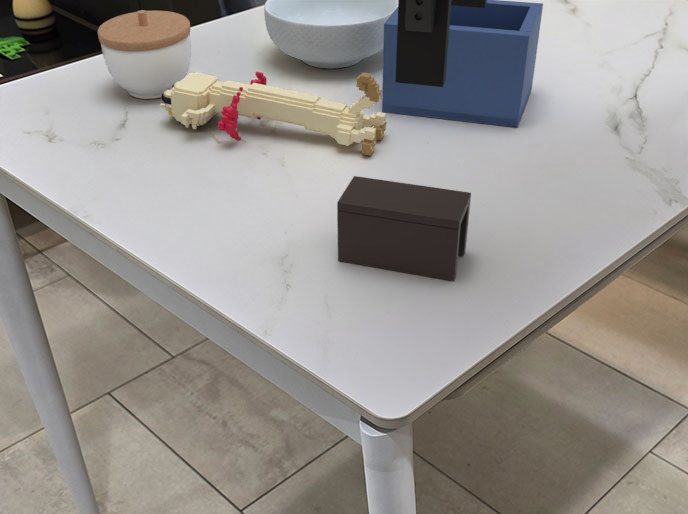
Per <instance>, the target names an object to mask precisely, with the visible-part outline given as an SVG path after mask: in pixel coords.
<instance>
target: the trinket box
mask: <svg viewBox="0 0 688 514" xmlns="http://www.w3.org/2000/svg"><path fill="white" fill-rule="evenodd" d="M97 36H98V41H99V43H100V47H101V51H102V52H101V53H102V57H103V59H104V63H105V66H106V68H107V70H108V73H109V74H110V76H111V77H112V79H113V81H114V82H115V83H116V84H117V85H118V86H120V87H121V88H122V89H124V90H125V91H127V93H128V95H129V96H131V97H134V98H136V99H142V100H151V99H160V98H162V96H161V95H162V94H163V93H164V92H165V91H167V90H171V89H172V86H173V85H174V84H175V83H176V82H177V81H179V82H180V81H181V80H182V79H183V78H185V77H186V76H187V75H188V72H189V69H190V66H191V59H192V38H191V22H190V20H189V18H187V16H186V15H183V14H180V13H178V12H174V11H168V10H145V9H141V10H137V11H134V12H128V13H124V14H120V15H117V16H114V17H112V18H110V19H108V20H106V21H104V22H103V23H102V24H100V25H99V27H98V29H97Z"/></svg>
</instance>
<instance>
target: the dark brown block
mask: <svg viewBox="0 0 688 514" xmlns="http://www.w3.org/2000/svg"><path fill="white" fill-rule="evenodd" d="M471 197H472V193H471V192H470V191H469V192H468V191H462V190H460V191H459V190H455V189H447V188H441V187H434V186H428V185H427V186H426V185H420V184H413V183H405V182H398V181H392V180H385V179H380V178H379V179H377V178H372V177H363V176H357V175H354V176H353V177H352V178H351V180H350V182H349V183H348V185H347V186H346V188H345V190H344V191H343V193H342V194H341V196H340V197H339V199H338V200H337V202H336V206H337V207H336V208H337V209H336V210H337V212H336V213H337V215H336V216H337V217H336V218H337V219H336V222H337V261H338V262H343V263H349V264H355V265H360V266H365V267H371V268H377V269H383V270H389V271H393V272H400V273H406V274H410V275H415V276H416V275H417V276H423V277H428V278H432V279H433V278H434V279H439V280H445V281H450V282H454V281H455V280H456V277H457V271H458V259H459V256H460V255H461V256H460V257H464V256H465V254H466V252H467V240H468V229H469V220H470V219H469V218H470V208H471V199H472V198H471Z"/></svg>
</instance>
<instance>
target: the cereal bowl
mask: <svg viewBox="0 0 688 514" xmlns="http://www.w3.org/2000/svg"><path fill="white" fill-rule="evenodd" d="M397 7H398V0H266V1H265V3H264V6H263V15H264V21H265V22H264V23H265V27H266V31H267V33H268V36H269V38H270V40H271V41H272V43H273V44H274V45H275V47H277V49H279V50H280V51H281V52H283V53H284V54H285V55H288V56H290V57H292V58H294V59H297V60H301V61H302V62H303V63H304V64H306V65H308V66H311V67H313V68H319V69H342V68H348V67H351V66H353V65H357V64H359V63H360V62H362V60H363V59H366V58H369V57H371V56H374V55H376V54H377V53H379V52H381V51H383V44H384V23H385V22H386V21H387V19H388V18H389V17H390V16H391V14H392V13H393V12H394V11H395V10H396V8H397Z"/></svg>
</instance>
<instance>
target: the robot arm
mask: <svg viewBox="0 0 688 514" xmlns="http://www.w3.org/2000/svg"><path fill="white" fill-rule="evenodd" d="M451 5H452V6H465V7H479V8H485V6H486V5H487V0H398V26H397V54H396V81H395V82H397V83H407V84H416V85H426V86H436V87H443V86H444V84H445V81H446V68H447V54H448V41H449V27H450V14H451Z"/></svg>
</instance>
